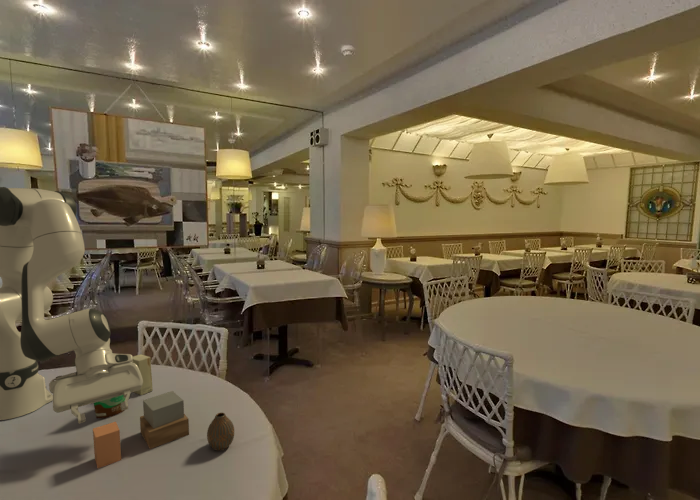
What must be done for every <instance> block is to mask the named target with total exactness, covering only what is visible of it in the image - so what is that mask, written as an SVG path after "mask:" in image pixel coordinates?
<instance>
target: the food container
mask: <svg viewBox="0 0 700 500" xmlns="http://www.w3.org/2000/svg"><path fill="white" fill-rule="evenodd" d="M124 401H125V398H124V396H123V395H121V396H117V397H113V398H110V399H106V400H102V401H99V402H95V403H93V406H94V408H93V409H94V413H95V418H96V419H109V418H112V417H114V416H118V415H120V414H122V413H123V412H125V411H126V410H123V411H121V406H120V404H121V402H124Z"/></svg>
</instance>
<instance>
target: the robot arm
mask: <svg viewBox="0 0 700 500" xmlns="http://www.w3.org/2000/svg"><path fill="white" fill-rule="evenodd" d="M77 210H78V208H77V203H76V201H75V199H74V198H73V196H71V195H70V194H68V193H65V192H62V191H60V190H59V191H58V190H55V191H54V190H50V189H49V190H48V189H41V188H34V187H30V188H28V187H27V188H25V187H20V188H19V187H6V186H0V279H1V284H2V286H1V287H0V421H4V420H11V419H14V418H18V417H21V416H25V415H27V414H30V413H32V412H34V411H36V410H39V409H40V408H42V407H43V406H45V405H46V404H48V403H51V402H52V411H54V412H55V413H62V412H66V411H70V412H71V414H72V415H73V416H75V418H77V423H78V424H83V423H86V420H87V419H86V413H85V412H84V413H81V412H80V411H79V408H80V407H83V406H87V405H91V404H94V403H95V402H99V401H102V400H106V399H110V398H113V397H117V396H121V395H123V396H124V398H125V401H124V402H121V404H120V406H121V411H123V410H125V411H126V410H129V403H128V401H129V399H130V396H131V394H132V393H134V392H135V391H139V390H140V389H141V387H142V385H143V379H142V376H141V373H140V370H139V368H138V366H137V365H136V364H135V363H133V355H132V354H130V353H113V350H112V349H111V347H110V343H111V338H110V337H111V335H112V333H111V328H110V323H109V319H108V317H107V315H106V314H105V313H104V312H102V311H100V310H98V309H95V308H87V309H82V310H78V311H75V312H70V313H69V314H66V315H65V314H64V315H61V316H58V317H57V316H56V317H53V318H50V319H45V311H46V310H49V309H50V307H51V306H52V304H53V301H54V296H53V292H52V290H51V289H50V287H49V286H48V285H49V283H50V282H52V281H53V280H54V279H57V278H58V277H59V276H61V275H63V274H64V273H66V272H68V271H70V270H71V269H72V268H74V267H75V266H77V264H79V263H80V262H81V261H82V259H83V257H84V255H85V252H86V251H85V241H84V237H83V234H82V230H81V228H80V224H79V222H78V219H77V217H76V216H77V212H78V211H77ZM20 320H21V328H20V329H21V330H20V331H19V330H18V329H17V326H16V322H17V321H20ZM72 351H73V352H74V353H75V354H74V355H75V359H74V363H75V372H70V373H68V374H63V375H57V376H56V377H55V378H53V379H52V380H51V381H49V384H48V387H49V389H47V386H46V379H45V377H44V376H43V375H41V374H39V373H38V372H39V363H38V362H42V363H43V362H46V361H48V360H50V359H53V358H55V357H58V356H59V355H62V354H65V353H70V352H72ZM123 412H124V411H123Z"/></svg>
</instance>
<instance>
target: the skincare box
mask: <svg viewBox="0 0 700 500" xmlns="http://www.w3.org/2000/svg"><path fill="white" fill-rule="evenodd" d="M132 357H133V363H135V364H136V365H137V366H138V368H139V370H140V373H141V376H142V379H143V385H142V387H141V389H140V390H139V391H135V392H133V393H134V394H137V395H138V396H143V395H146V394H149V393H150V392H152V391H153V376H152V375H153V374H152V364H151V363H152V361H151V357H150V356H148V355H145V354H141V353H140V354H137V355H134V356H133V355H132Z"/></svg>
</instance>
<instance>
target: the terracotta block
mask: <svg viewBox="0 0 700 500" xmlns="http://www.w3.org/2000/svg"><path fill="white" fill-rule="evenodd" d="M118 425H119V424H118V423H117V421H113V422H110V423H107V424H103V425H100V426H96V427H94V428H92V436H93V452H94V460H95V463H96V468H97V469H100V468H103V467H106V466H108V465H113V464H114V463H117V462H120V461H122V449H121V435H120V433H121V431H120V428H119V426H118Z"/></svg>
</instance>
